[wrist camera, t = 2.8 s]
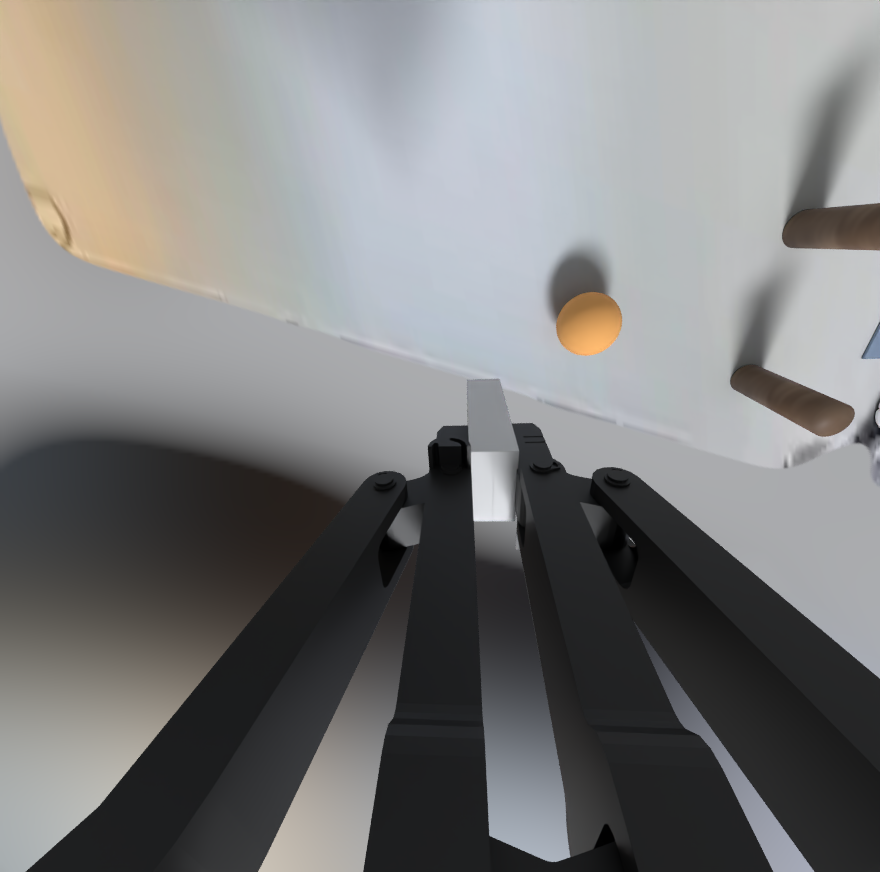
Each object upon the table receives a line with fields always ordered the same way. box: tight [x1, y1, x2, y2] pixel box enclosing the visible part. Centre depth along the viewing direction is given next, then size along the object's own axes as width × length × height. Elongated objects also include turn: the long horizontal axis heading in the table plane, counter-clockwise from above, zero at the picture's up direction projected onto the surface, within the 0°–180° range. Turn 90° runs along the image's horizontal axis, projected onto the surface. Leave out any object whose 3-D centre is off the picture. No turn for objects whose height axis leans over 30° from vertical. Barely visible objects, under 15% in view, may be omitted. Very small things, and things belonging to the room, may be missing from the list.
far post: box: [731, 365, 855, 437], centre depth 30 cm, size 3×3×9 cm
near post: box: [782, 203, 880, 250], centre depth 24 cm, size 3×3×9 cm
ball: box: [556, 292, 622, 356], centre depth 30 cm, size 5×5×5 cm
